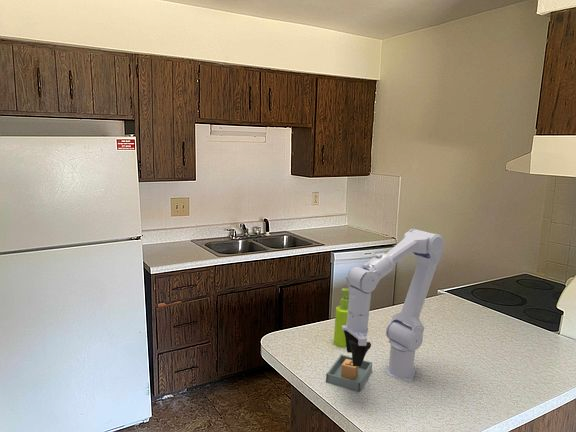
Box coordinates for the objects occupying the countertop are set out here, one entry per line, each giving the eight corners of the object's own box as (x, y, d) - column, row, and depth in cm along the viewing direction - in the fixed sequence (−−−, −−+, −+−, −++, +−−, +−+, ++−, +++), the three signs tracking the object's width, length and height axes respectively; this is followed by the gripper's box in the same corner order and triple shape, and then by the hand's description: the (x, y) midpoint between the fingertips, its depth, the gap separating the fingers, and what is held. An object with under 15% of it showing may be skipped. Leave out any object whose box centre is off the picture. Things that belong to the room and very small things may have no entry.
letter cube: (345, 371, 130) (346, 358, 129) (358, 374, 128) (358, 361, 128) (340, 377, 127) (341, 364, 126) (354, 380, 125) (355, 367, 124)
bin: (340, 363, 135) (341, 354, 135) (371, 371, 131) (372, 362, 131) (325, 383, 124) (326, 373, 123) (359, 393, 120) (360, 383, 119)
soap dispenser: (353, 350, 144) (357, 293, 141) (332, 347, 146) (336, 291, 142) (354, 342, 150) (358, 287, 147) (334, 339, 151) (338, 285, 148)
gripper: (338, 301, 123) (334, 346, 125) (349, 321, 109) (344, 371, 111) (363, 302, 124) (358, 346, 126) (376, 322, 110) (371, 372, 112)
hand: (353, 358), depth 119 cm, fingers open, 7 cm apart
